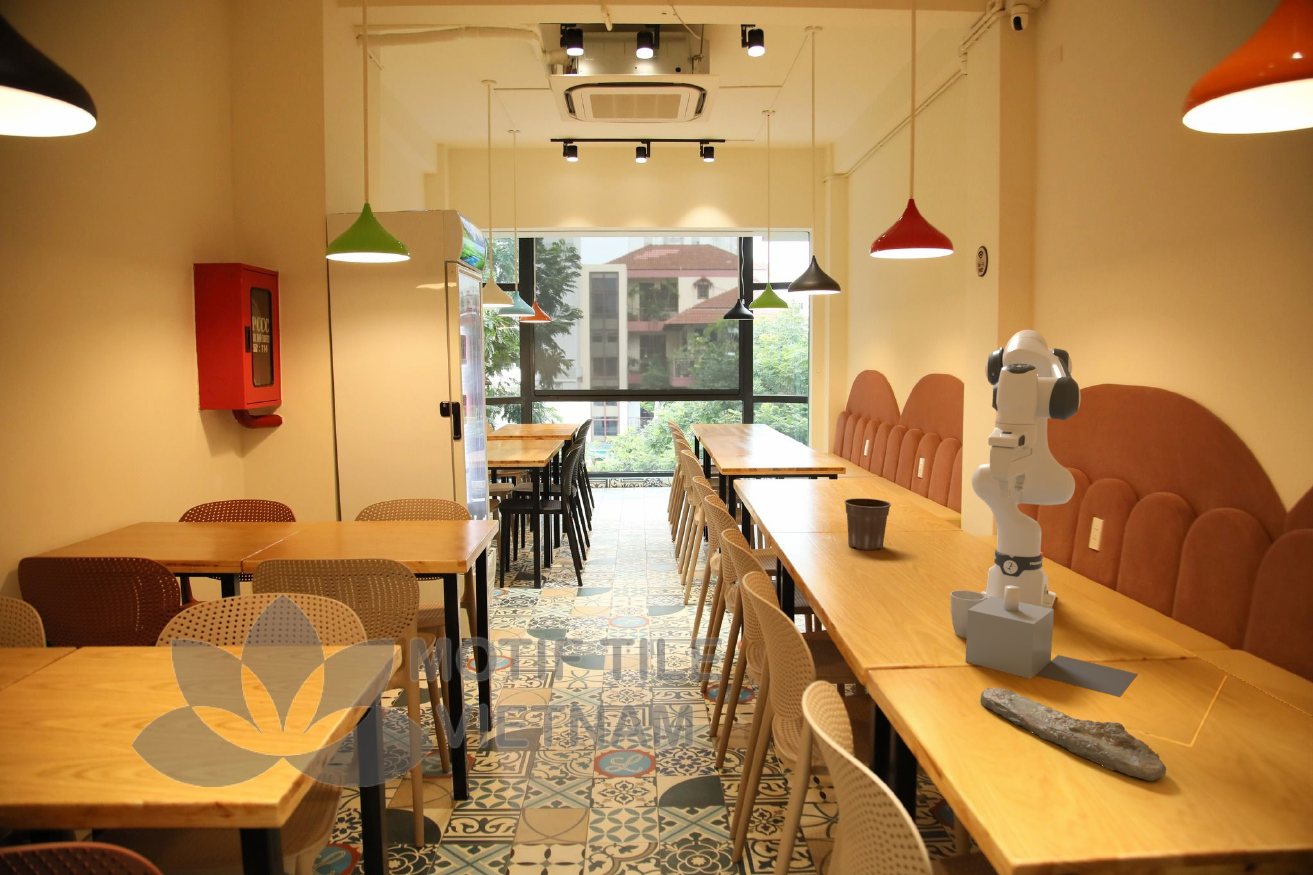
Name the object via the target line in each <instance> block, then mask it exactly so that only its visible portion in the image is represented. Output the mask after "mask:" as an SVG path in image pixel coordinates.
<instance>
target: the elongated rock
mask: <svg viewBox="0 0 1313 875" xmlns="http://www.w3.org/2000/svg"><path fill="white" fill-rule="evenodd" d="M980 705H981V706H983V708H987V709H989V710H991V711H993V712H994V713H995V714H997V715H1000V716H1002V717H1003V719H1004V718H1005V719H1006V720H1008V721H1010V722H1012V723H1013V724H1014V725H1015V724H1016V726H1017V727H1018V726H1019V727H1021V726H1022V728H1023V729H1025V728H1026V729H1027V730H1026V729H1025V730H1026V731H1028V730H1029V731H1028V732H1030V731H1031V732H1033V733H1035V734H1034V735H1036V734H1037V735H1036V736H1038V735H1039V736H1040V737H1041V739H1042V738H1043V739H1042V740H1045V739H1047V740H1046V741H1048V740H1049V741H1048V742H1052V743H1054V744H1057V745H1059V746H1061V747H1062V748H1065V749H1067V750H1068V751H1070V752H1071V753H1072V754H1075V753H1077V754H1076V755H1078V754H1079V755H1080V756H1079V755H1078V756H1079V757H1081V756H1082V757H1081V758H1083V757H1084V758H1083V759H1086V758H1087V760H1090V761H1092V763H1093V762H1094V763H1096V764H1097V765H1100V766H1101V765H1103V766H1104V767H1103V766H1102V767H1103V768H1105V767H1106V769H1107V768H1108V769H1107V770H1109V769H1111V770H1113V771H1112V772H1116V771H1117V772H1120V773H1122V774H1125V775H1126V776H1131V777H1136V778H1137V779H1138V778H1139V779H1142V780H1146V781H1155V780H1158V779H1159V780H1160V779H1161V778H1162V777H1164V776H1165V775H1166V773H1167V766H1166V765H1165V764H1164V763H1163V761H1162V759H1160V758H1161V757H1160V755H1159V753H1156V752H1155V751H1154V750H1153V749H1152V748H1150V746H1149V745H1148V744H1146V743H1145V741H1143V740H1141V739H1138V738H1136V737H1135V736H1134V735H1132V734H1130V733H1129V732H1128V731H1127V730H1126V727H1125V726H1124V725H1123V724H1121V723H1119V722H1110V721H1105V722H1102V721H1098V720H1097V721H1093V720H1090V719H1083V720H1081V719H1080V718H1075V717H1072V716H1070V715H1067V714H1065V713H1064V712H1063V711H1059V710H1057V709H1054V708H1052V707H1049V706H1048V705H1047V706H1046V705H1044V704H1042V703H1040V702H1038V701H1036V700H1032V699H1030V698H1028V697H1026V696H1022V695H1020V694H1018V693H1016V692H1014V691H1012V689H1006V688H999V687H993V688H991V687H990V688H989V687H987V688H986V689H984V690H982V692H981V694H980ZM1031 732H1030V733H1031ZM1033 733H1032V734H1033ZM1039 736H1038V737H1039ZM1040 737H1039V738H1040ZM1111 770H1110V771H1111ZM1114 770H1115V771H1114Z"/></svg>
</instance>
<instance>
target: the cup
mask: <svg viewBox="0 0 1313 875" xmlns="http://www.w3.org/2000/svg"><path fill="white" fill-rule="evenodd" d="M949 594H950V599H949V600H950V603H949V604H950V614H951V623H952V626H953V630H954V634H955V635H956V636H957V637H959V638H960V637H961V638H965V639H967V621H968V609H970V608H972V607H973V606H975V605H977V604H979V603H980V602H982V601H984V600H985V599H987V598H986V596H985V595H983V594H981V592H977V591H972V590H962V589H960V590H953V591H951V592H950V593H949Z"/></svg>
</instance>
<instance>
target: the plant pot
mask: <svg viewBox="0 0 1313 875" xmlns="http://www.w3.org/2000/svg"><path fill="white" fill-rule="evenodd" d="M844 505H845V513H846V520H847V521H846V522H847V524H846V525H847V538H848V539H847V540H848V542H847V543H848V546H849V547H851V548H856V549H857V550H864V551H876V550H878V549H879V550H881V549H883V548H884V544H885V543H884V541H885V534H886V529H887V528H886V527H887V521H888V516H889V514H890V513H889V512H890V507H891V506H892V503H891V502H889V501H885V500H881V499H876V498H861V497H859V498H847V499H845V500H844Z"/></svg>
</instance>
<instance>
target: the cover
mask: <svg viewBox="0 0 1313 875" xmlns="http://www.w3.org/2000/svg"><path fill="white" fill-rule="evenodd" d="M1019 593H1020V588H1019V587H1017V586H1005V595H1004V599H1002V598H997V597H992V596H990V597H989V598H986V599H985V600H984V601H982V602H980V603H979V604H977V605H975V606H973V607H972V608H970V609H968V621H967V638H966V640H965V641H966V642H965V643H966V646H965V663H969V664H972V665H976V666H980V667H984V668H988V669H991V670H996V671H997V672H999V671H1000V672H1002V673H1006V674H1010V675H1014V676H1019V677H1022V678H1025V679H1029V680H1031V679H1033V678H1034V677H1036V674H1037V673H1038V672H1040V671H1041V670H1042V669H1043V668H1044V667H1045V666H1046V665H1047V664H1048V663H1050V662H1051V661H1052V648H1053V647H1052V646H1053V645H1052V644H1053V632H1054V631H1053V629H1054V615H1055V609H1054V608H1052V609H1051V608H1046V607H1041V606H1036V605H1031V604H1026V603H1021V602H1019Z"/></svg>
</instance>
